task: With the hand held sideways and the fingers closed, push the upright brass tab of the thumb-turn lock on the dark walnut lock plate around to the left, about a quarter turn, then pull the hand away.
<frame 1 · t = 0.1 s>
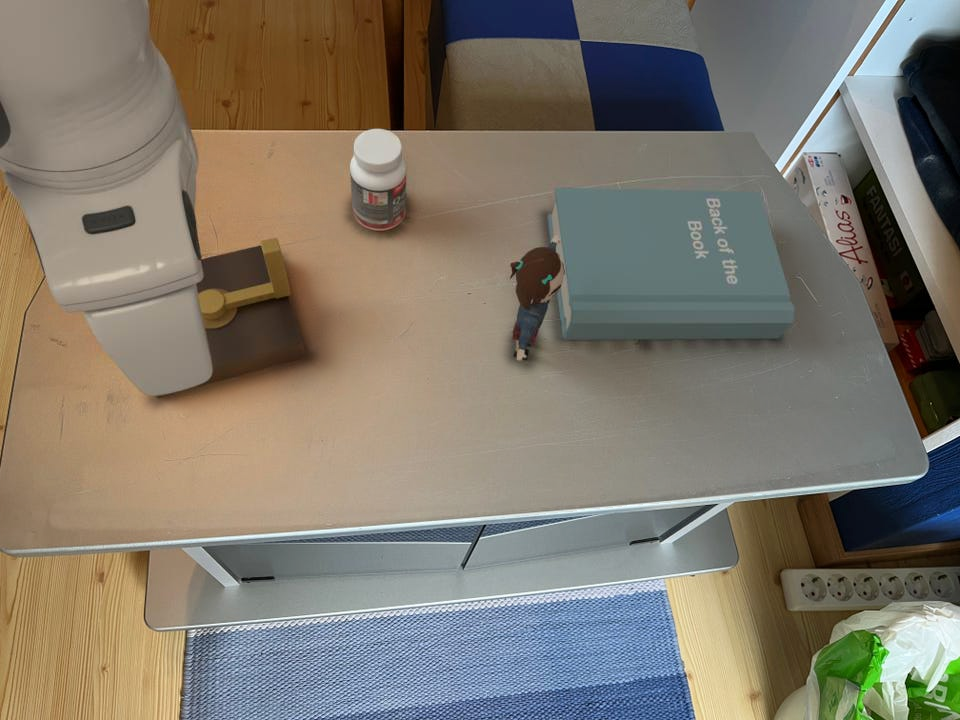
hand: (172, 294, 49), 22 cm above the table, tool pointing down, fingers open, 8 cm apart
pill bottle: (379, 212, 81), on the table
book: (656, 279, 81), on the table
toy: (515, 346, 75), on the table
lock: (237, 278, 67), point 7 cm above the table, hinge at 0.0°
lock plate: (219, 325, 73), on the table
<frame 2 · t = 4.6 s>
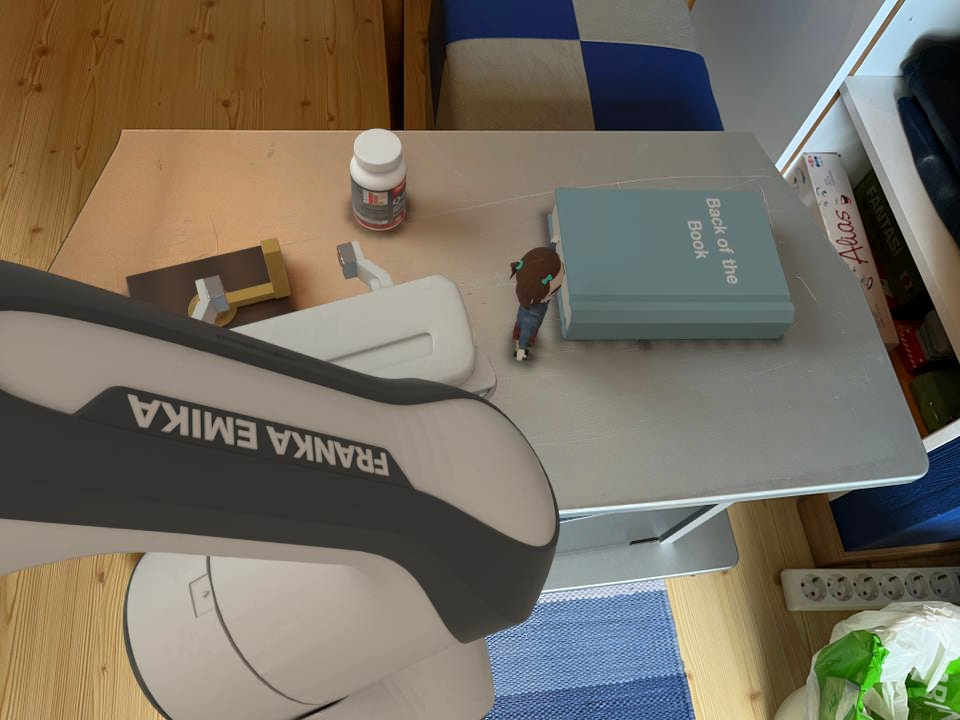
hand: (279, 264, 48), 24 cm above the table, tool horizontal, fingers open, 8 cm apart
nothing on the table moved.
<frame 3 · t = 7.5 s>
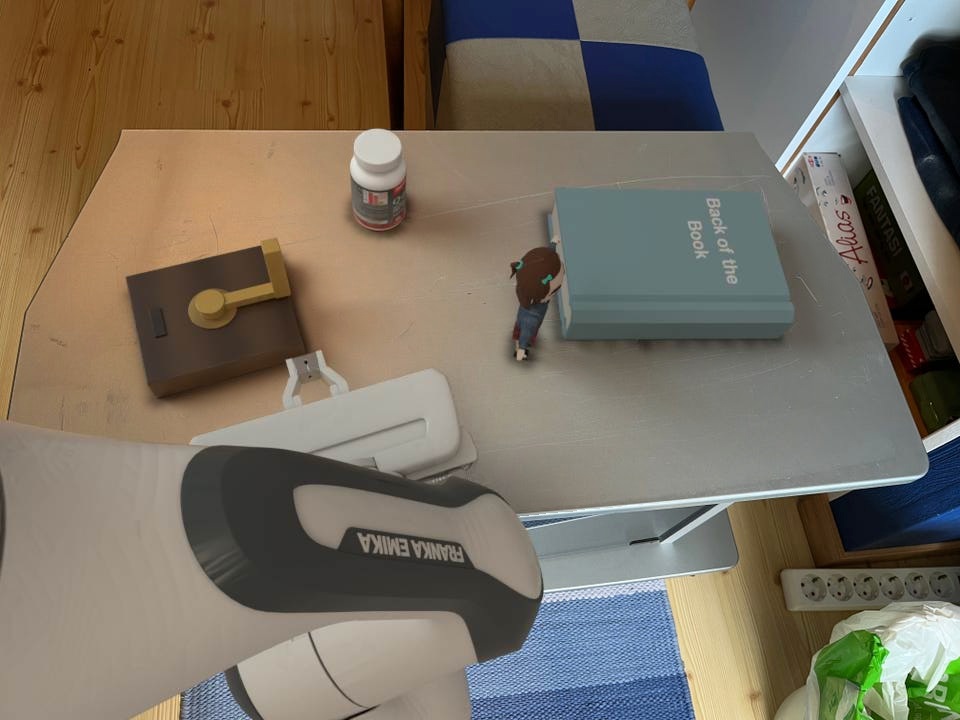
hand: (304, 357, 60), 11 cm above the table, tool horizontal, fingers closed
nothing on the table moved.
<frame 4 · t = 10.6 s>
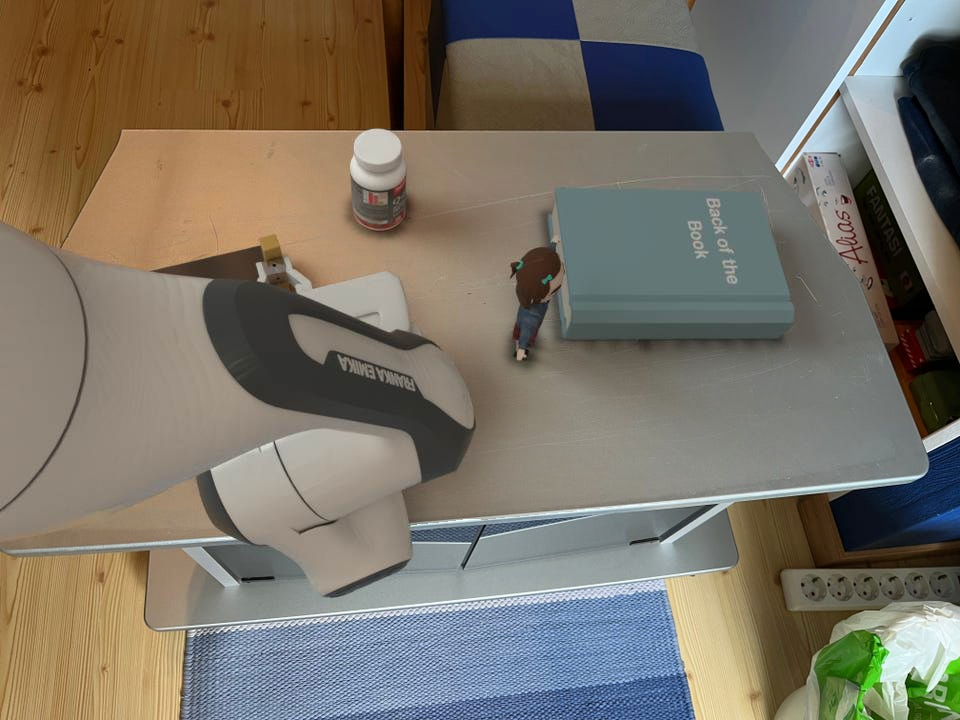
hand: (273, 262, 66), 8 cm above the table, tool horizontal, fingers closed, pressing on lock
lock: (236, 277, 67), point 7 cm above the table, hinge at 3.3°, touching gripper
everything else where it was.
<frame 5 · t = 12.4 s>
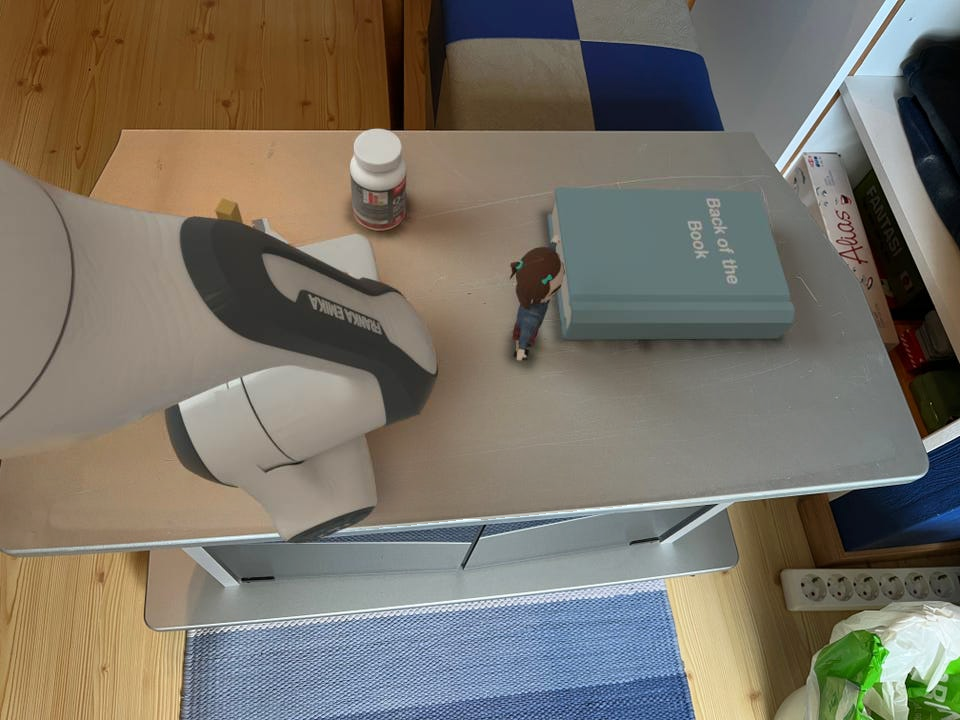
hand: (246, 226, 68), 8 cm above the table, tool horizontal, fingers closed
lock: (218, 260, 68), point 7 cm above the table, hinge at 54.1°, touching gripper
everything else where it was.
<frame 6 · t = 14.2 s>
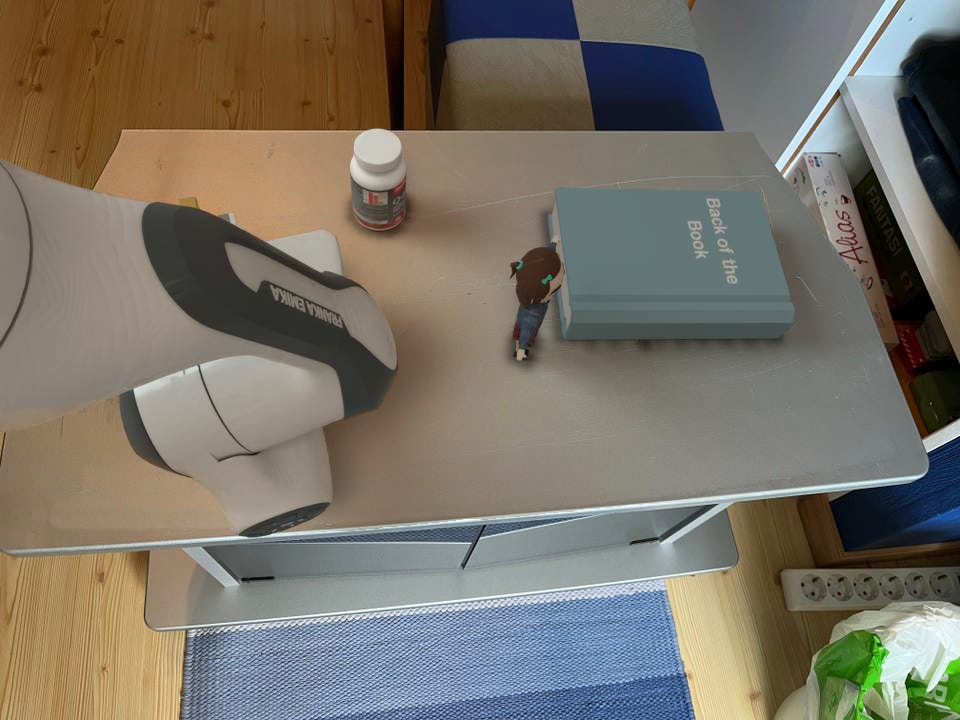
hand: (214, 220, 68), 8 cm above the table, tool horizontal, fingers closed
lock: (200, 259, 68), point 7 cm above the table, hinge at 83.9°, touching gripper
everything else where it was.
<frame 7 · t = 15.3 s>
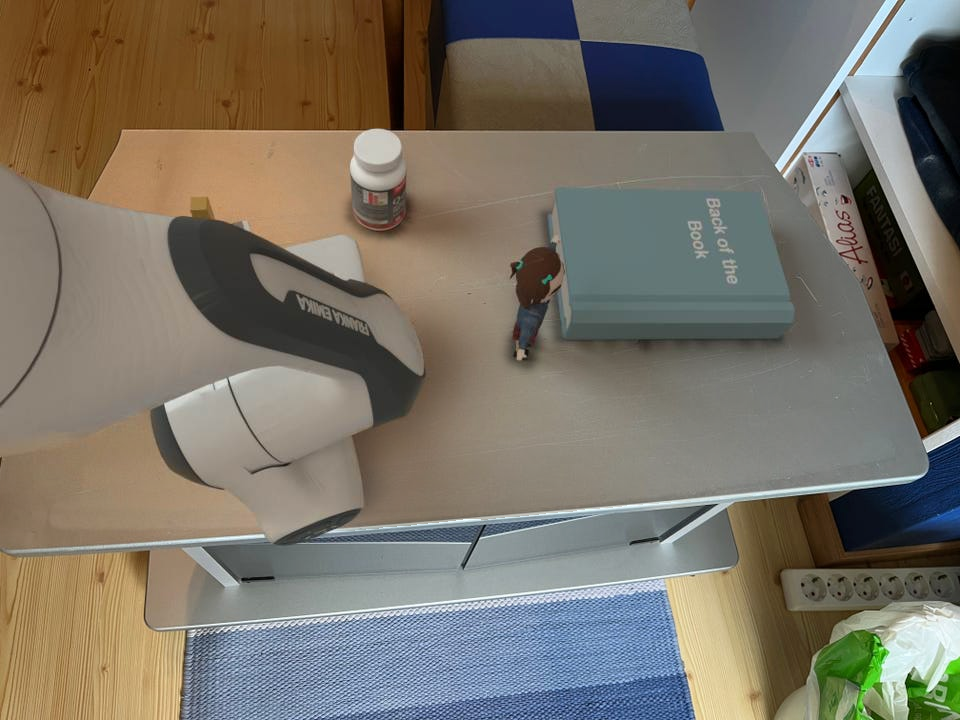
hand: (232, 227, 68), 8 cm above the table, tool horizontal, fingers closed
lock: (205, 259, 68), point 7 cm above the table, hinge at 75.6°
everything else where it was.
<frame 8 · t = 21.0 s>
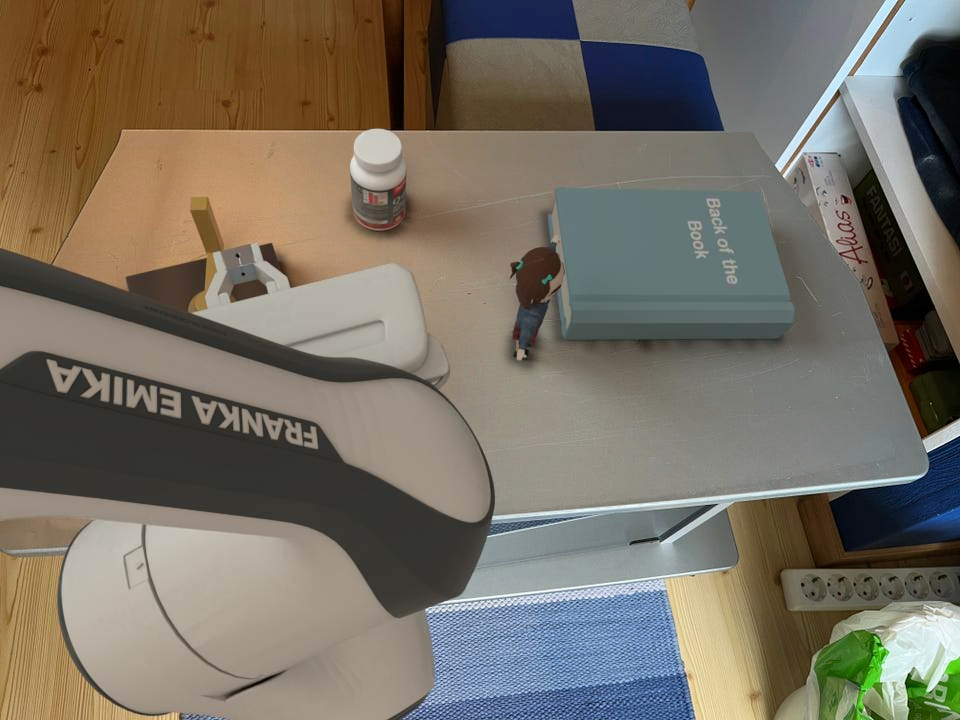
hand: (237, 252, 48), 24 cm above the table, tool horizontal, fingers closed
nothing on the table moved.
at the end: lock at +76° (first picture: +0°) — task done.
